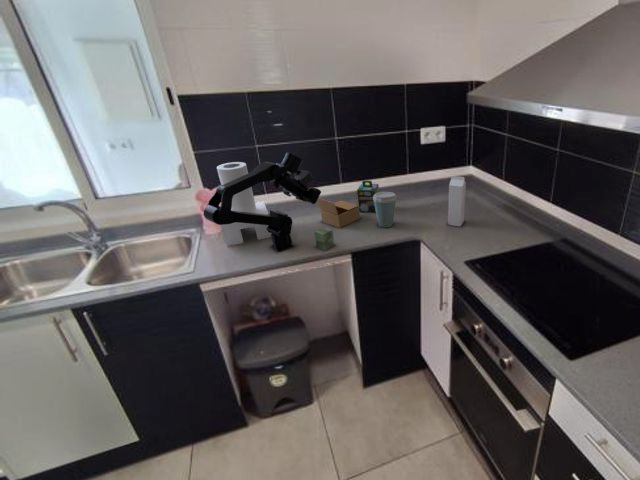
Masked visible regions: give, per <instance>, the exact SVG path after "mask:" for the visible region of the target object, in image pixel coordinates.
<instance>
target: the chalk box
mask: <svg viewBox="0 0 640 480" xmlns="http://www.w3.org/2000/svg"><path fill="white" fill-rule="evenodd" d="M379 192H380V185H379V183H373V182H372V180H362V182H361V184H360V185H359V186H358V188H357V190H356V196H357V203H358V204H357V205H358V207H359V213H360V212H362V213H363V212H364V213H365V212H368V213H376V210H375V205H374V200H373V196H374V195H375V194H376V193H379Z"/></svg>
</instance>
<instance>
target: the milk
mask: <svg viewBox="0 0 640 480" xmlns="http://www.w3.org/2000/svg"><path fill="white" fill-rule="evenodd" d="M465 179H466V178H465V177H464V176H458V175H451V176H450V181H449V185H448V214H447V216H448V217H447V225H448V226H453V227H454V226H455V227H462V225H463V224H464V222H465V210H466V209H465V207H466V206H465V205H466V189H467V188H466V187H467V182H466V180H465Z"/></svg>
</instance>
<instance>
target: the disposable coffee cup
mask: <svg viewBox="0 0 640 480" xmlns="http://www.w3.org/2000/svg"><path fill="white" fill-rule="evenodd" d="M397 199H398V195H396V193H395V192H391V191H379V193H376V194H375V195H374V196H373V200H374V205H375V210H376V212H375V215H376V221H377V224H378V226H379V227H380V228H390V227H392V226H393V224H394V218H395V210H396V203H397Z"/></svg>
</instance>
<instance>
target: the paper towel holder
mask: <svg viewBox="0 0 640 480" xmlns="http://www.w3.org/2000/svg"><path fill="white" fill-rule="evenodd" d="M216 171H217V175H218V177H219V178H218V179H219V182H220V185H223V184H226V183H228V182H230V181H233V180H235V179H237V178H239V177H241V176H244V175H246V174H248V173H249V171H248V166H247V163H246V162H242V161H232V162H226V163H222V164H219V165H217V166H216ZM252 187H253V186H252ZM252 187H250V188H248V189H246V190H244V191H242V192H239V193H237V194H235V195H234V196H233V198H232V208H231V210H233V211H241V212H249V213H257V214H270V212H269V211H268V209H267V207H266V206H267V205H266V204H265V201H264V200H260V201H255V196H254V192H253V188H252ZM267 226H268V225H259V224H249V223H238V222H235V223H232V224H225V225H220V229H221V232H222V235H223V239H224V242H225V246H226V247H230V246H234V245H239V244H244V239H243V234H242V231H241V230H245V229H249V228H254V231H255V233H256V234H255V235H256V238H257V240H259V241H260V240H265V239H269V238H271V234H272V233H269V232H268V231H267V229H266V228H267Z"/></svg>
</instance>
